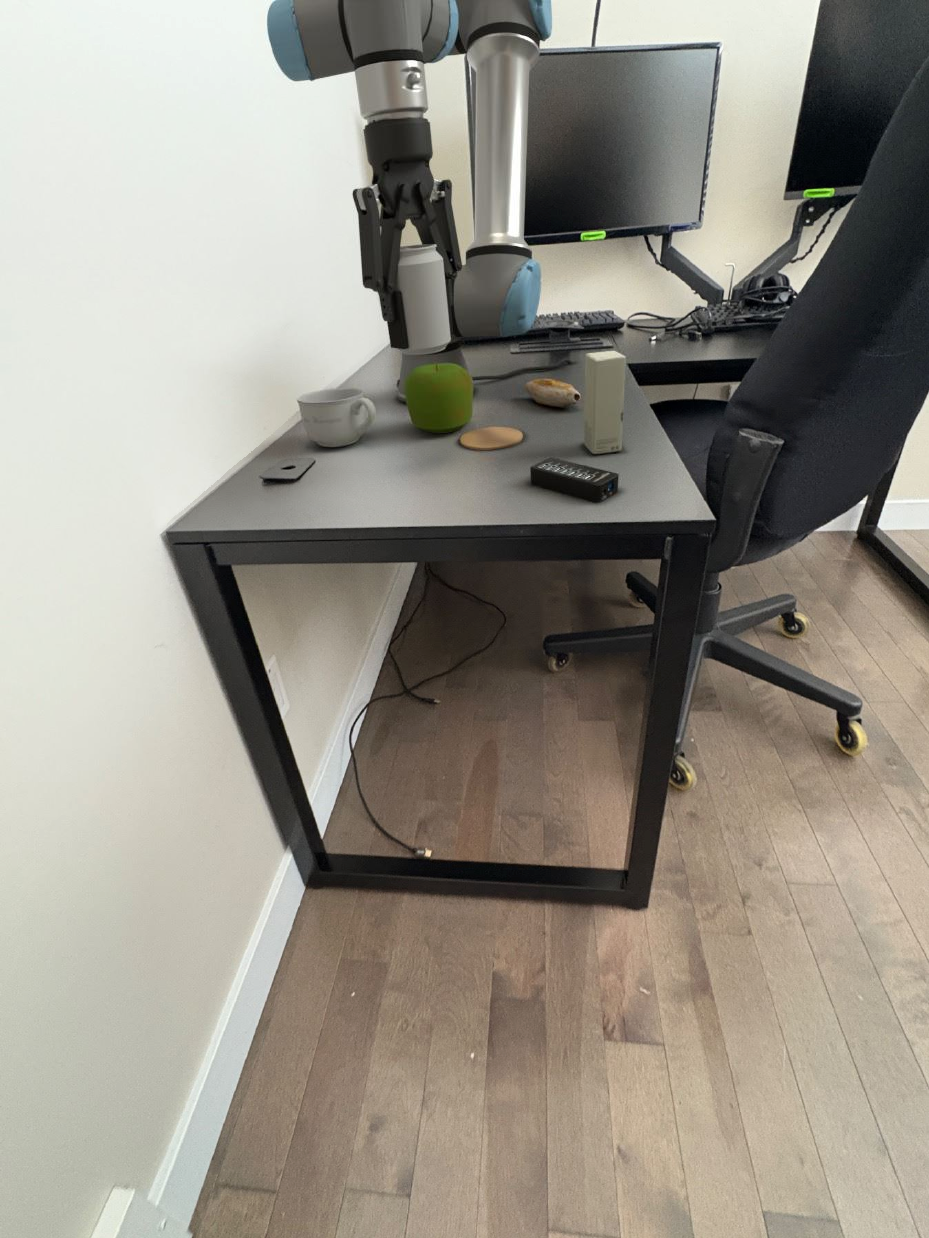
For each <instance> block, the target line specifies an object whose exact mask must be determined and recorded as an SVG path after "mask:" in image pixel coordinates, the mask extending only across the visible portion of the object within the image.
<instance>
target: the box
mask: <svg viewBox="0 0 929 1238" xmlns="http://www.w3.org/2000/svg"><path fill="white" fill-rule="evenodd" d="M584 359H585V360H584V361H585V364H584V428H583V429H584V430H583V432H584V436H583V437H584V438H583V444H584V446H585V447H586V449H587V450H588V451H589V452H590V453H591V454H593V455H601V454H602V455H603V454H609V453H615V452H616V453H617V452H620V451H622V447H623V446H622V443H623V422H624V406H625V405H624V402H625V401H624V400H625V385H626V384H625V383H626V382H625V381H626V366H627V365H626V363H627V362H626V361H627V357H626V356H625V355H624V354H622V353H620V352H618V351H616V350H607V351H597V352H590V353H589V352H588V353H586V354H585V358H584Z"/></svg>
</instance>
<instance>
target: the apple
mask: <svg viewBox="0 0 929 1238" xmlns="http://www.w3.org/2000/svg"><path fill="white" fill-rule="evenodd" d="M435 362H436V364H430V365H424V366H419V367H416V368H414V369H413V371H412V372H411V373H410V374H409V375H408V377H407V378H406V379H405V387H404V393H405V398H406V403H405V404H406V408H407V412H408V414H409V417H410V421H411V423H412V424H413V426H415V427H417V428H419V429H421V430H423V431H424V432H428V433H432V434H448V433H452V432H457V431H458V430H461V429H463V428H464V427H465V426H466V425H467V424H468V423H469V422H470V421H471V420H472V419H473V405H474V403H473V402H474V401H473V400H474V392H473V384H474V382H473V383H472V379H471V377H472V375H471V373H470V372H469V373H468V372H467V371H466V370H465V369H463V368H462V367H461V366H459V365H457V364H451V363H439V364H437V361H435ZM470 375H471V376H470Z"/></svg>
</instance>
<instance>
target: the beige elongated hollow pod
mask: <svg viewBox="0 0 929 1238" xmlns="http://www.w3.org/2000/svg"><path fill="white" fill-rule="evenodd" d="M524 389H525V391H526V392H527V394H529V396H531V397H532V398H533V401H535V402H536V403H537V404H540V405H546V406H550V407H558V408H569V407H570V406H571V405H572V406H574V405H576V404H578V403H579V402H580V401H581V399H582V395H581V394H580V392H579V391H578V390H577V389H575V388H574V387H573V385H572V384H570V383H565V382H563V381H558V380H556V379H552V378H536V379H533V380H531V381H528V382H526V383H525V384H524Z"/></svg>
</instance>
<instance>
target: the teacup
mask: <svg viewBox="0 0 929 1238" xmlns="http://www.w3.org/2000/svg"><path fill="white" fill-rule="evenodd" d="M296 402H297V404H298V407H299V413H300V417H301V421H302V425H303V429H304V431H305V434H306V435H307V437H308V438H309V439H310V440H312V441H313V442H315V443H317V444H318V446H321V447H325V448H337V447H345V446H348V445H352V444H355V443H357V442H358V441H359V440H360V439H361V437H362V436H364V434H365V433H366V431H367V429H368V427H370V426H371V425H372V424H373V423H374V421H375V419H376V416H377V415H376V414H377V411H376V410H377V409H376V407H375V404H374V403H373V402H372V400H371V399H369V398H368V397H365V391H364V390H363V389H361V388H356V387H337V388H327V389H321V390H315V391H310V392H306V393H304V394H302V395H300V396H298V397H297V398H296Z"/></svg>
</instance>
